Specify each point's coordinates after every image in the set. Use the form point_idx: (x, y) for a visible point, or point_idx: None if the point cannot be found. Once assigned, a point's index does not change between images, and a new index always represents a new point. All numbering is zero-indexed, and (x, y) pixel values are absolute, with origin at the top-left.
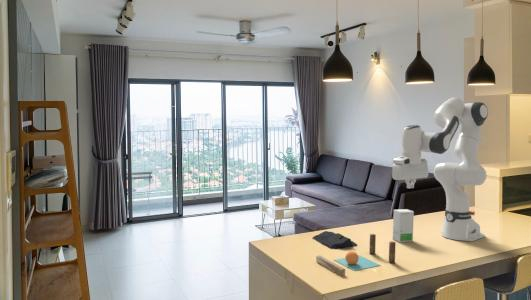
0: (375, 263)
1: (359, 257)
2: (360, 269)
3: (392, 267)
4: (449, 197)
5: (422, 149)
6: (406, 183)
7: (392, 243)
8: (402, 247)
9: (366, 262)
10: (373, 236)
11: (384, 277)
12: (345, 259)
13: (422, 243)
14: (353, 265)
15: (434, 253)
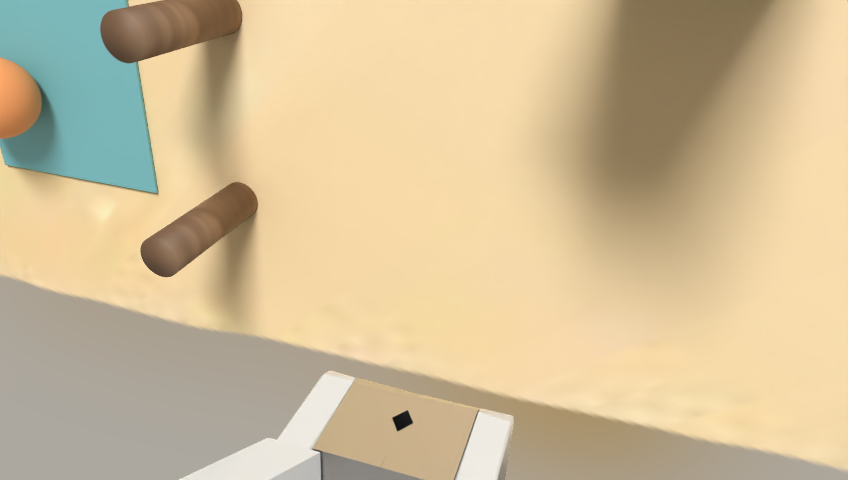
0: (144, 161)
1: None
2: (40, 170)
3: None
4: None
5: None
6: (231, 470)
7: (150, 268)
8: (537, 29)
9: (106, 120)
10: (123, 57)
11: (102, 294)
12: (15, 9)
13: (817, 49)
14: None
15: (623, 262)
